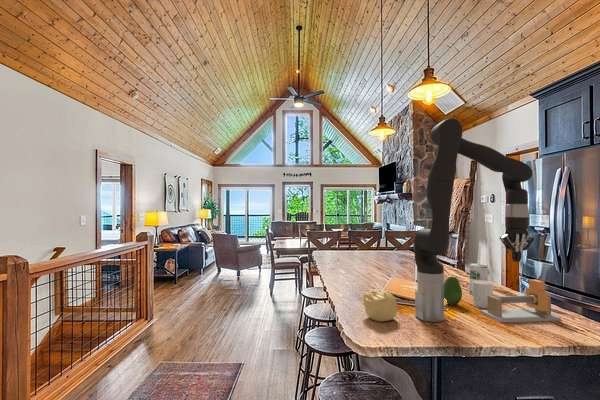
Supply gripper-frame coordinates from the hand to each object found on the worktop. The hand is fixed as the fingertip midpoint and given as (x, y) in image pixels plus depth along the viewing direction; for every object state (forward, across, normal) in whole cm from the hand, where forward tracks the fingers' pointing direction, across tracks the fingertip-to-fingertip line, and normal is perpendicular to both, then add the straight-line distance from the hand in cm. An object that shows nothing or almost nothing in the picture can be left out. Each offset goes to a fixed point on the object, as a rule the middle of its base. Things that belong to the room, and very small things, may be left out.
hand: (516, 261), depth 124 cm
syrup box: (+21, +6, +31) cm, 38 cm away
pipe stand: (+21, +1, 0) cm, 21 cm away
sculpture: (+22, -53, +2) cm, 57 cm away
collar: (+18, +9, 0) cm, 20 cm away
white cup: (+21, -4, +14) cm, 26 cm away
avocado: (+21, -16, +17) cm, 32 cm away
